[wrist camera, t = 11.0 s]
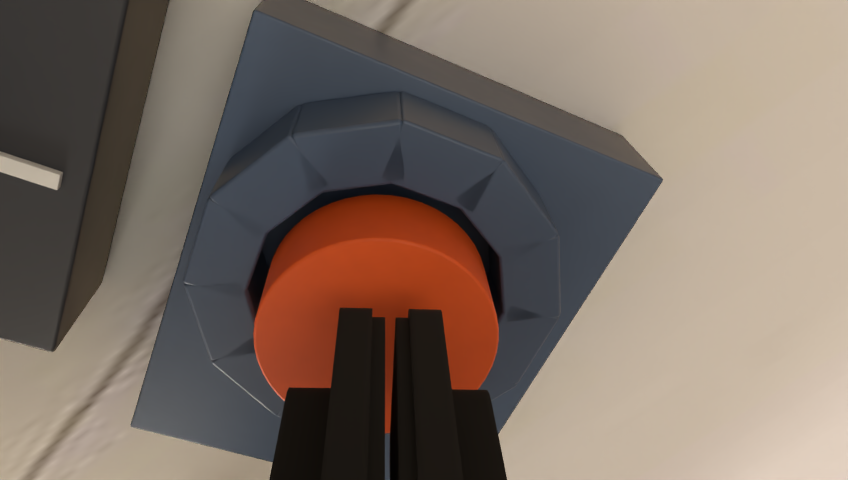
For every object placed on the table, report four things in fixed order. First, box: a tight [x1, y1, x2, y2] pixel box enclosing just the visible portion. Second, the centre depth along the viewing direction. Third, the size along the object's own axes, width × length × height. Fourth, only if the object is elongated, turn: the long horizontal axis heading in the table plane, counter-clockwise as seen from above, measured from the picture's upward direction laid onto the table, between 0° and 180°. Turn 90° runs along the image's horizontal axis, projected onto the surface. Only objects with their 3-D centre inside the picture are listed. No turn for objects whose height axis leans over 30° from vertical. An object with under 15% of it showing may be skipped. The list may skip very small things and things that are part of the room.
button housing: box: [131, 0, 663, 480], centre depth 16 cm, size 9×11×4 cm
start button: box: [253, 194, 499, 433], centre depth 12 cm, size 4×4×2 cm
